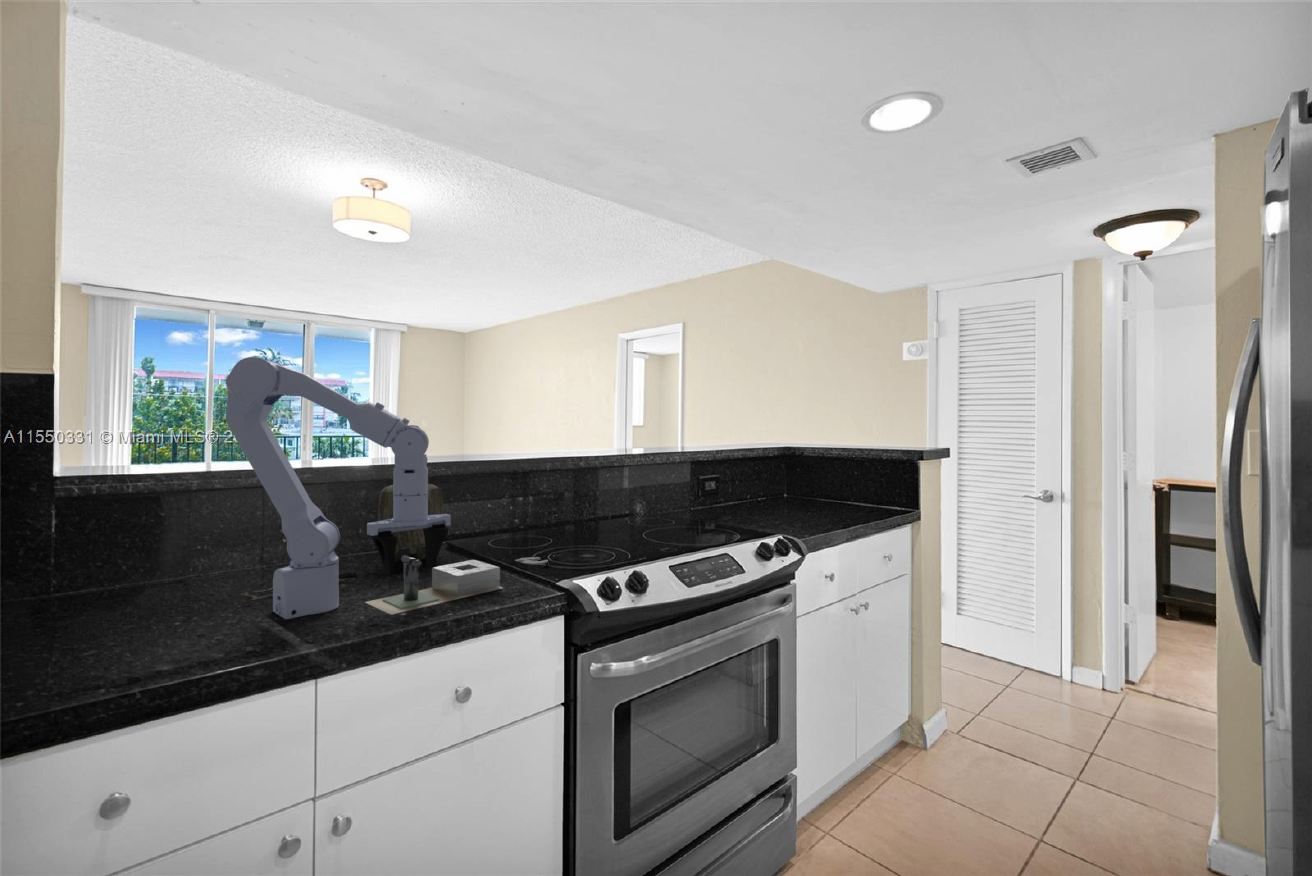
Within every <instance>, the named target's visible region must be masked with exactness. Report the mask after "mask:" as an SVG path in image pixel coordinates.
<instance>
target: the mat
mask: <svg viewBox="0 0 1312 876" xmlns="http://www.w3.org/2000/svg"><path fill="white" fill-rule="evenodd" d="M398 595H399V596H395V595H394V596H395V597H391V596H389V597H390V598H386V597H385V598H386V599H382V601H384V602H386V603H388V604H391V605H393V606H395V607H397V608H400V609H405V608H409V607H413V606H418V605H422V604H426V603H430V602H435V601H439V598H436V597H434V596H431V595H429V594H426V593H424V592H421V591H419V590H418V599H417V600H414V601H405V600H404V595H400V594H398Z"/></svg>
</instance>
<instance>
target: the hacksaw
mask: <svg viewBox="0 0 1312 876" xmlns="http://www.w3.org/2000/svg"><path fill="white" fill-rule="evenodd" d="M357 575H359V571H358V572H357V571H356V570H355V569H352V570H351V569H350V570H347V571H344V572H339V584H342V583H343V584H345V583H347V581H348V583H351V582H354V581H355V580H356V579H355V578H354V577H356V576H357ZM353 576H354V577H353ZM269 588H270V589H269ZM269 588H267V589H268V590H265V589H266V588H265V589H261V590H260V589H259V590H254V591H252V592H253V593H263V592H266V591H267V592H268V591H273V590H272V589H273V587H269ZM245 593H246V594H245ZM240 594H241V595H240V596H243V597H248V598H251V599H249V600H247V601H245V602H248V601H250V602H251V601H258V600H264V599H270V598H273V593H271V594H266V595H262V596H257V595H252V594H249V592H247V591H246V592H242V593H240ZM238 605H239V602H236V603H234V604H233V605H232V607H233V606H234V608H248V607H251V605H250V604H247V605H241V606H240V605H239V606H238Z"/></svg>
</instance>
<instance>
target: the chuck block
mask: <svg viewBox="0 0 1312 876" xmlns="http://www.w3.org/2000/svg"><path fill="white" fill-rule="evenodd" d="M500 587H501V567H500V566H496V565H493V564H490V563H487V562H484V561H480V560H478V559H477V560H476V559H470V560H465V561H459V562H455V563H448V564H443V565H438V566H435V567H434V568H431V588H432V589H435V590H438V591H440V592H443V593H446V594H448V595H451V596H454V597H457V598H459V597H464V596H468V595H472V594H476V593H480V592H485V591H489V590H493V589H497V588H500ZM489 592H490V591H489ZM485 593H486V592H485ZM468 597H469V596H468ZM464 598H465V597H464Z"/></svg>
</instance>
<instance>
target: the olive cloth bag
mask: <svg viewBox="0 0 1312 876" xmlns="http://www.w3.org/2000/svg"><path fill="white" fill-rule="evenodd" d="M443 498H444V495H443V489H441V488H440V487H439V486H437V485H435V484H432V483H428V515H439V514H444V499H443ZM377 513H378V514H377V519H378V520H377V522H378V521H383V520H388V519H393V484H391V485H388V486H385V487H384V488H383V489H382V490H381V491H380V494H379V498H378V511H377ZM406 527H410V526H406ZM391 534H393V536H394V537H397V538H398V539H397V543H396V549H395V556H396V555H397V554H398V552H399V551H401V549H403V548H404V549H406V548H408V549H409V548H410V549H409V553H410V554H411V555H415V554H416V553H417V551H418V554H417V559H418V560H420V561H423V560H424V559H425V555H426V554H425V553H424V552H422V547H424V546H425V538H424V533H423V528H421V529H413V530H406V531H398V532H391Z"/></svg>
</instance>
